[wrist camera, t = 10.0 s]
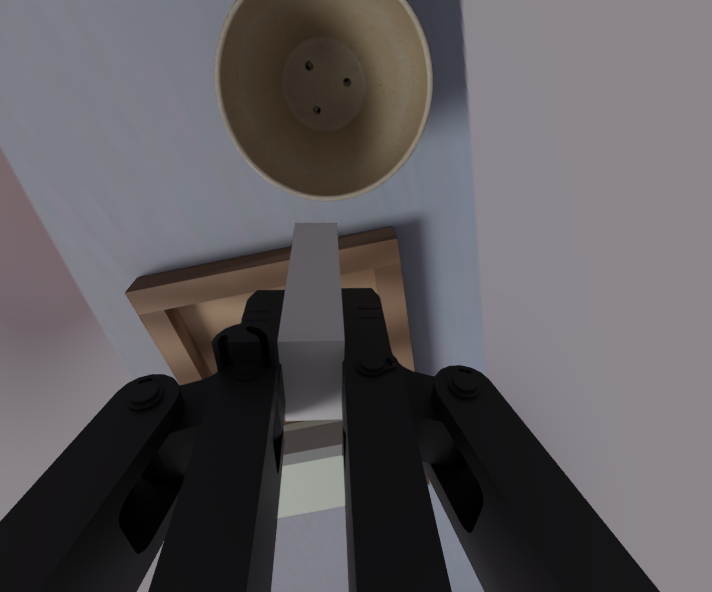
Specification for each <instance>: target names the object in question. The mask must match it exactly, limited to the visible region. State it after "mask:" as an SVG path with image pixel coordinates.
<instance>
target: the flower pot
mask: <svg viewBox="0 0 712 592" xmlns="http://www.w3.org/2000/svg"><path fill="white" fill-rule="evenodd" d="M306 65H307V66H309V68H310V70H308V69H307V68H306ZM346 78H347V79H349V81H348V82H344V80H345V79H346ZM215 86H216V95H217V101H218V105H219V108H220V112H221V115H222V118H223V121H224V124H225V126H226V129H227V131H228V133H229V135H230V137H231V139H232V141H233V143H234V145H235V146H236V148H237V149H238V151H239V152H240V154H241V155H242V156H243V158H244V159H245V160H246V161H247V163H248V164H249V165H250V166H251V167H252V168H253V169H254V170H255V171H256V172H257V173H258V174H260V175H261V176H262V177H263V178H264V179H265V180H267V181H268V182H270V183H271V184H273V185H274V186H276V187H278V188H279V189H281V190H283V191H286V192H288V193H290V194H293V195H295V196H299V197H302V198H305V199H310V200H318V201H337V200H344V199H349V198H353V197H356V196H359V195H362V194H364V193H367V192H369V191H371V190H373V189H375V188H377V187H378V186H380V185H381V184H383V183H384V182H386V181H387V180H388V179H389V178H391V177H392V176H393V175H394V174H395V173H396V172H397V171H398V170H399V169H400V168H401V167H402V166H403V165H404V163H405V162H406V161H407V160H408V158H409V157H410V156H411V154H412V153H413V151H414V150H415V148H416V146H417V144H418V142H419V140H420V138H421V136H422V134H423V131H424V129H425V126H426V123H427V120H428V116H429V112H430V107H431V101H432V94H433V72H432V62H431V55H430V51H429V46H428V43H427V39H426V36H425V33H424V31H423V28H422V26H421V24H420V21H419V19H418V17H417V15H416V14H415V12H414V10H413V9H412V7H411V6H410V4H409V2H408V1H407V0H236V1H235V3H234V4H233V6H232V8H231V10H230V12H229V14H228V16H227V18H226V20H225V22H224V25H223V28H222V31H221V34H220V38H219V41H218V46H217V51H216V59H215ZM319 108H320V112H319V114H318V112H317V110H318V109H319Z"/></svg>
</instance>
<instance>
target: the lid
mask: <svg viewBox="0 0 712 592" xmlns="http://www.w3.org/2000/svg"><path fill="white" fill-rule="evenodd" d="M283 429H284V438H285V443H284V454H283V465H282V476H281V486H280V497H279V508H278V518H281V517H287V516H292V515H298V514H303V513H309V512H314V511H320V510H325V509H331V508H336V507H341V506H345V489H344V465H343V456H342V430H343V421H342V419H336V420H307V421H302V422H297V423H291V424H286V425H284V426H283Z"/></svg>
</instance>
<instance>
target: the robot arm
mask: <svg viewBox="0 0 712 592" xmlns="http://www.w3.org/2000/svg"><path fill="white" fill-rule="evenodd" d="M211 344H212V348H213V352H214V357H215V361H216V365H217V370H218V371H217V373H215V374H213V375H211V376H210V377H207V378H204V379H202V380H199V381H195V382H191V383H187V384H183V385H180V386H179V384H178V383H177V381H176V380H175V379H174V378H173V377H170V376H167V375H164V374H152V375H148V376H144V377H140V378H137V379H135V380H133V381H131V382H129V383H127V384H126V385H125V386H124V387H122V388H121V389H120V390H119V391H118V392H117V393H116V394H115V395H114V396H113V397H112V398H111V399H110V400H109V401H108V403H107V404H106V405H105V406H104V407H103V408H102V409H101V410H100V412H99V413H98V414H97V415H96V416H95V417H94V418H93V419H92V420H91V422H90V423H89V424H88V425H87V426H86V427H85V428H84V429H83V430H82V431H81V432H80V434H79V435H78V436H77V437H76V438H75V439H74V440H73V441H72V443H71V444H70V445H69V446H68V447H67V448H66V449H65V450H64V451H63V453H62V454H61V455H60V456H59V457H58V458H57V459H56V460H55V461H54V462H53V464H52V465H51V466H50V467H49V468H48V469H47V470H46V471H45V472H44V474H43V475H42V476H41V477H40V478H39V479H38V480H37V481H36V483H35V484H34V485H33V486H32V487H31V488H30V489H29V490H28V491H27V492H26V494H25V495H24V496H23V497H22V498H21V499H20V500H19V501H18V502H17V504H16V505H15V506H14V507H13V508H12V509H11V510H10V511H9V512H8V514H7V515H6V516H5V517H4V518H3V519H2V520H1V521H0V592H137V590H138V588H139V586H140V584H141V583H142V581H143V579H144V577H145V575H146V573H147V572H148V570H149V568H150V566H151V564H152V562H153V560H154V559H155V557H156V555H157V553H158V551H159V549H160V547H161V546H162V544H163V547H162V550H161V553H160V556H159V559H158V563H157V566H156V569H155V572H154V575H153V579H152V582H151V585H150V588H149V591H148V592H271V583H272V572H273V561H274V551H275V540H276V529H277V519H278V508H279V497H280V486H281V476H282V465H283V454H284V443H285V438H284V429H283V426H284V417H285V420H286V421H307V420H336V419H342V421H343V430H342V456H343V465H344V489H345V512H346V536H347V559H348V583H349V592H452V591H451V586H450V582H449V578H448V573H447V569H446V564H445V560H444V556H443V551H442V547H441V542H440V538H439V534H438V529H437V525H436V520H435V516H434V512H433V507H432V503H431V498H430V494H429V490H428V485H427V481H426V476H425V472H426V474H427V476H428V478H429V480H430V482H431V484H432V486H433V488H434V490H435V492H436V494H437V496H438V498H439V500H440V502H441V504H442V506H443V508H444V510H445V512H446V514H447V516H448V518H449V520H450V522H451V525H452V527H453V529H454V531H455V533H456V535H457V537H458V539H459V541H460V543H461V545H462V547H463V549H464V551H465V553H466V555H467V557H468V559H469V561H470V563H471V565H472V567H473V569H474V571H475V573H476V575H477V577H478V579H479V581H480V583H481V585H482V587H483V589H484V592H660V591H659V590H658V589H657V587H656V586H655V585H654V584H653V583H652V581H651V580H650V579H649V578H648V576H647V575H646V574H645V573H644V572H643V570H642V569H641V568H640V566H639V565H638V564H637V563H636V561H635V560H634V559H633V558H632V557H631V555H630V554H629V553H628V551H627V550H626V549H625V548H624V547H623V545H622V544H621V543H620V542H619V540H618V539H617V538H616V537H615V535H614V534H613V533H612V532H611V531H610V529H609V528H608V527H607V525H606V524H605V523H604V522H603V520H602V519H601V518H600V517H599V515H598V514H597V513H596V512H595V510H594V509H593V508H592V507H591V505H590V504H589V503H588V502H587V500H586V499H585V498H584V497H583V496H582V494H581V493H580V492H579V491H578V489H577V488H576V487H575V486H574V484H573V483H572V482H571V481H570V479H569V478H568V477H567V476H566V475H565V473H564V472H563V471H562V470H561V468H560V467H559V466H558V465H557V463H556V462H555V461H554V459H553V458H552V457H551V456H550V455H549V453H548V452H547V451H546V450H545V448H544V447H543V446H542V445H541V443H540V442H539V441H538V440H537V438H536V437H535V436H534V435H533V433H532V432H531V431H530V430H529V428H528V427H527V426H526V425H525V424H524V422H523V421H522V420H521V419H520V417H519V416H518V415H517V413H515V411H514V410H513V409H512V407H511V406H510V405H509V404H508V402H507V401H506V400H505V399H504V397H503V396H502V395H501V394H500V393H499V391H498V390H497V389H496V387H495V386H494V385H493V384H492V382H491V381H490V380H489V379H488V378H487V377H486V376H484V375H483V374H482V373H481V372H479V371H477V370H475V369H473V368H470V367H465V366H461V365H457V366H448V367H446V368H443V369H441V370H440V371H439V372H438V373H437V374H436V376H435V377H434V376H429V375H425V374H421V373H417V372H414V371H411V370H409V369H407V368H405V367H403V366H402V365H401V364H400V363H399V362H398V360H397V358H396V357H395V356H394V355H393V353H392V351H391V346H390V341H389V337H388V332H387V327H386V323H385V319H384V313H383V310H382V304H381V299H380V297H379V295H378V294H377V293H376V292H375V291H374V290H373V289H372V288H341V279H340V264H339V250H338V235H337V223H295V229H294V235H293V242H292V248H291V255H290V262H289V268H288V275H287V281H286V288H285V290H256V291H255V292H254V293H253V294H252V295H251V296H250V297H249V298H248V299H247V302H246V305H245V309H244V313H243V316H242V319H241V323H240V324H236V325H233V326H230V327H228V328H225V329H224V330H222V331H221V332H220V333H218V334H217V335H216V336H215V338H214V339H213V341H212V342H211ZM424 470H425V472H424ZM163 542H164V543H163Z"/></svg>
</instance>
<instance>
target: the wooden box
mask: <svg viewBox="0 0 712 592" xmlns="http://www.w3.org/2000/svg"><path fill="white" fill-rule="evenodd" d="M291 248H292V247H288V248H283V249H278V250H273V251H268V252H264V253H259V254H254V255H249V256H244V257H239V258H234V259H229V260H224V261H219V262H214V263H209V264H204V265H199V266H194V267H189V268H184V269H179V270H174V271H169V272H164V273H159V274H154V275H149V276H144V277H139V278H136V280H135V281H134V282H133V283H132V285H131V286H130V287H129V288H128V289H127V291H126V292H125V294H126V296H127V298H128V299H129V301H130V303H131V304H132V306H133V308H134V309H135V311H136V313H137V314H138V316H139V318H140V319H141V321H142V323H143V324H144V326H145V328H146V329H147V331H148V333H149V334H150V336H151V338H152V339H153V341H154V343H155V344H156V346H157V348H158V349H159V351H160V353H161V354H162V356H163V358H164V359H165V361H166V362H167V364H168V366H169V367H170V369H171V371H172V372H173V374H174V376H175V377H176V379H177V381H178V382H179V384H180V385H183V384H187V383H191V382H195V381H199V380H202V379H204V378H207V377H210V376H211V375H213V374H215V373H217V371H218V370H217V365H216V361H215V357H214V352H213V348H212V344H211V342H212V341H213V339H214V338H215V336H216V335H217V334H218V333H220V332H221V331H222V330H224V329H225V328H228V327H230V326H233V325H236V324H240V323H241V319H242V316H243V313H244V309H245V305H246V302H247V299H248V298H249V297H250V296H251V295H252V294H253V293H254V292H255V291H256V290H285V288H286V281H287V275H288V268H289V262H290V255H291ZM338 250H339V264H340V279H341V288H372V289H373V290H374V291H375V292H376V293H377V294H378V295H379V297H380V299H381V304H382V310H383V313H384V319H385V323H386V327H387V332H388V337H389V341H390V346H391V351H392V353H393V355H394V356H395V357H396V358H397V360H398V362H399V363H400V364H401V365H402V366H403V367H405V368H407V369H409V370H411V371H414V372H415V369H414V362H413V354H412V347H411V339H410V331H409V324H408V316H407V308H406V301H405V293H404V286H403V278H402V270H401V263H400V255H399V247H398V240H397V236H396V234H395V232H394V229H393V227H388V228H383V229H378V230H373V231H368V232H363V233H358V234H353V235H348V236H343V237H338ZM297 422H302V421H286V420H285V417H284V425H286V424H291V423H297ZM424 472H425V470H424ZM425 476H426V481H427V485H429V478H428V476H427V474H426V472H425Z"/></svg>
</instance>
